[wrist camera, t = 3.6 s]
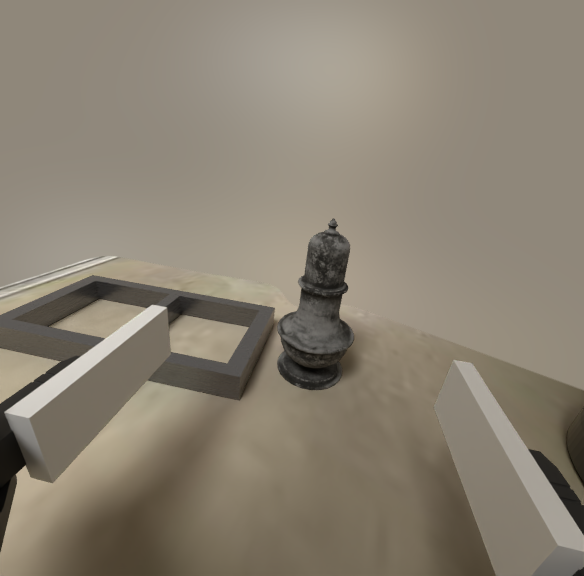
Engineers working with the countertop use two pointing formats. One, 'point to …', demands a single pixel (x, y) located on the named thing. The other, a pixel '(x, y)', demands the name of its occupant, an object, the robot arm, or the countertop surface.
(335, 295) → the dark grey chess piece
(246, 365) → the grey flat rectangular frame
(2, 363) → the countertop surface
